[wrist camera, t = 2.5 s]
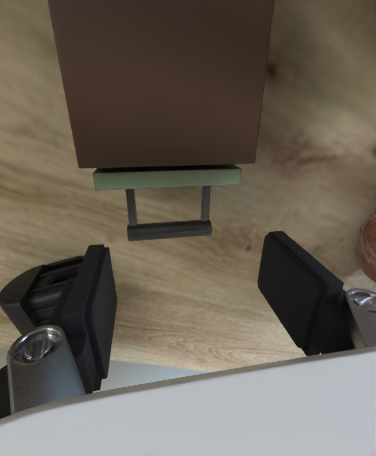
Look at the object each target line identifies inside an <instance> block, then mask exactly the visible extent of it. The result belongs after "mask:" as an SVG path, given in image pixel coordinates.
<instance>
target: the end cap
mask: <svg viewBox="0 0 376 456" xmlns="http://www.w3.org/2000/svg"><path fill="white" fill-rule="evenodd" d="M83 259H84V256H78V257H74V258H70V259H66V260H62V261H58V262H54V263H50V264H48V265H45V264H44V265H41V266H38V267H35V268H32V269H30V270H28V271H26V272H24V273H22V274H21V275H19V276H17V277H16V278H15V279H13V280H12V281H11V282H9V283H8V284H7V285H6V286H5V287H4V288H3V289H2V291H1V292H0V306H1V308H2V309H3V310H4V312H5V313H6V314H7V316H8V317H9V318H10V320H11V321H12V322H13V324H14V325H15V326H16V328H17V329H18V330H19V332H20V333H21V334H22V335H23V334H25V333H26V332H28V331H30V330H32V329H34V328H37V327H40V326H45V325H47V323H48V321H49V319H50V317H51V314H52V312H53V310H54V308H55V305H56V303H57V301H58V299H59V297H60V294H61V292H62V290H63V288H64V285H65V283H66V281H67V279H68V278H72V277H77V274H78V272H79V269H80V266H81V264H82V261H83Z"/></svg>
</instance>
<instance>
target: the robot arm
mask: <svg viewBox="0 0 376 456" xmlns="http://www.w3.org/2000/svg"><path fill="white" fill-rule="evenodd" d="M343 285H344V283H343V282H342V281H341V280H340V279H338V278H337V277H336V276H335V275H334V274H333V273H331V272H330V271H329V270H328V269H327V268H326V267H324V266H323V265H322V264H321V263H320V262H318V261H317V260H316V259H315V258H314V257H313V256H311V255H310V254H309V253H308V252H307V251H306V250H304V249H303V248H302V247H301V246H300V245H298V244H297V243H296V242H295V241H294V240H293V239H291V238H290V237H289V236H288V235H287V234H286V233H284V232H283V231H274V232H269V233H268V235H266V236H265V238H264V244H263V250H262V257H261V263H260V269H259V276H258V288H259V290H260V291H261V293H262V294H263V296H264V297H265V299H266V300H267V302H268V303H269V305H270V306H271V308H272V309H273V311H274V312H275V314H276V315H277V317H278V319H279V320H280V322H281V323H282V325H283V326H284V328H285V329H286V331H287V332H288V334H289V335H290V337H291V338H292V340H293V341H294V343H295V344H296V346H297V347H298V348H302V350H303V351H304V353H305V354H306V356H309V357H303V358H296V359H290V360H284V361H278V362H272V363H265V364H259V365H253V366H247V367H241V368H235V369H229V370H223V371H217V372H211V373H205V374H199V375H193V376H187V377H181V378H175V379H169V380H163V381H158V382H152V383H146V384H140V385H134V386H128V387H123V388H118V389H112V390H107V391H102V392H96V393H93V391H97V390H100V387H101V381H102V379H105V378H107V375H108V368H109V361H110V353H111V345H112V338H113V330H114V322H115V314H116V307H117V296H116V290H115V283H114V277H113V270H112V264H111V257H110V251H109V247H105V248H104V245H103V244H100V245H89V246H88V249H87V251H86V254H85V256H84V259H83V261H82V264H81V266H80V269H79V272H78V274H77V277H72V278H68V279H67V281H66V283H65V285H64V288H63V290H62V292H61V294H60V297H59V299H58V301H57V303H56V305H55V308H54V310H53V312H52V314H51V317H50V319H49V321H48V323H47V325H45V326H40V327H37V328H34V329H32V330H30V331H28V332H26V333H25V334H23V335H22V336H21V337H19V338H18V339H17V340H16V341H15V342H14V343H13V344H12V346H11V347H10V349H9V351H8V355H7V365H6V366H4V367H3V368H2V369H0V456H376V293H374V292H372V291H369V290H365V289H359V288H354V289H350V290H348V291H347V292H346V291H345V290H343V289H342V288H343ZM320 352H321V354H322V355H319V354H320ZM312 355H315V356H312Z"/></svg>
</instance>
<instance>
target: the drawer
mask: <svg viewBox="0 0 376 456" xmlns="http://www.w3.org/2000/svg"><path fill="white" fill-rule="evenodd" d="M240 177H241V168H239V167H237V166H236V165H234V164H218V165H183V166H147V167H112V168H97V169H96V170H95V171H94V173H93V178H94V184H95V190H120V189H126V197H127V206H128V216H129V225H128V226H127V234H128V240H129V241H140V240H154V239H167V238H181V237H194V236H208V235H211V233H212V225H211V221H210V220H209V204H210V186H215V185H239V184H240ZM191 186H202V194H201V220H191V221H175V222H160V223H144V224H137V215H136V204H135V193H134V189H144V188H168V187H191Z"/></svg>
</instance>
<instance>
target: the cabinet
mask: <svg viewBox="0 0 376 456" xmlns="http://www.w3.org/2000/svg"><path fill="white" fill-rule="evenodd" d="M48 5H49V10H50V16H51V21H52V26H53V32H54V37H55V43H56V48H57V53H58V59H59V64H60V70H61V75H62V80H63V86H64V91H65V97H66V102H67V107H68V113H69V118H70V124H71V129H72V134H73V140H74V145H75V150H76V156H77V161H78V167H79V168H112V167H147V166H183V165H218V164H253V163H255V158H256V149H257V141H258V133H259V124H260V116H261V108H262V100H263V91H264V83H265V75H266V66H267V58H268V50H269V42H270V33H271V25H272V17H273V9H274V0H48Z"/></svg>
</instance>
